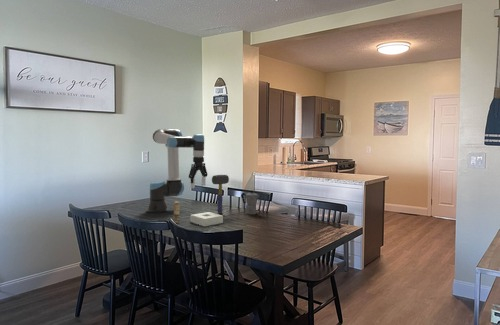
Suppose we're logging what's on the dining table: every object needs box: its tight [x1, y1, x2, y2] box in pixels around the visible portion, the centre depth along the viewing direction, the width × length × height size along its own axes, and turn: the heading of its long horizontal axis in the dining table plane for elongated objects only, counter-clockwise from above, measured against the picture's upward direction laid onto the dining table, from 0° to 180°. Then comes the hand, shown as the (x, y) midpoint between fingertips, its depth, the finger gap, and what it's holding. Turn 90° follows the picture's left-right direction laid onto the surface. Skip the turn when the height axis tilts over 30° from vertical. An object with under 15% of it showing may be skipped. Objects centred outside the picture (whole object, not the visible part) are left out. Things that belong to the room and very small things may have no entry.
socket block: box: [189, 211, 224, 227], centre depth 256 cm, size 16×16×5 cm
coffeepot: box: [240, 190, 260, 215], centre depth 289 cm, size 15×9×18 cm, turn 65°
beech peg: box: [173, 201, 181, 224], centre depth 254 cm, size 4×4×14 cm
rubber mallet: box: [211, 174, 230, 214], centre depth 287 cm, size 12×8×30 cm, turn 129°
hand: (198, 186), depth 260 cm, fingers open, 13 cm apart
